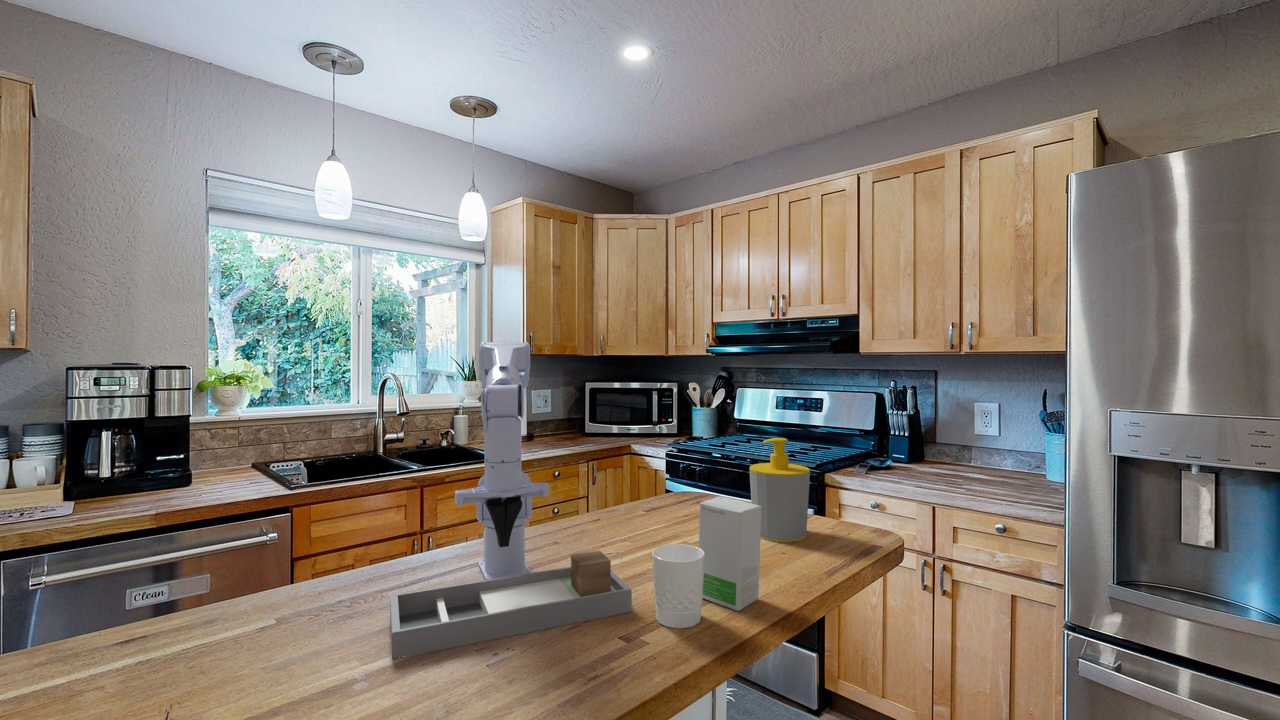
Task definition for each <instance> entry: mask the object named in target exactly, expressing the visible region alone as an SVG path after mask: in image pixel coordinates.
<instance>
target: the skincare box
mask: <svg viewBox="0 0 1280 720" xmlns="http://www.w3.org/2000/svg"><path fill="white" fill-rule="evenodd" d="M698 524H699V528H698V530H699V531H698V533H699V534H698V548H700V549H702V550H703V551H704V553H705V559H704V583H703V598H702V599H705V600H707V601H709V602H712V603H715V604H718V605H720V606H723V607H726V608H728V609H731V610H734V611H737V612H740V611H741V610H743V609H745V608H746V607H748V606H750V605H752V603H755V602H756V601H758V600H759V592H760V591H759V590H760V563H761V562H760V557H761V554H760V553H761V538H760V532H761V506H759V505H755V504H752V503H751V502H747V501H743V500H741V499H733V498H729V497H724V496H717V497H715V498H711V499H708V500H705V501H701V502H700V503H699V523H698Z"/></svg>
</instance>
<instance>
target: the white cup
mask: <svg viewBox="0 0 1280 720" xmlns="http://www.w3.org/2000/svg"><path fill="white" fill-rule="evenodd" d="M651 557H652V559H651V560H652V579H653V580H652V581H653V591H654V593H653V594H654V601H655V619H656V620H657V622H658V623H659V624H661V625H662V626H664V627H666V628H667V627H668V628H673V629H689V628H692V627H695V626H696V625H698V624H699V623H700V622H701V617H702V603H703V599H704V598H703V583H704V559H705V553H704V551H703V550H702V549H700V548H699V546H695V545H690V544H683V543H682V544H681V543H671V544H670V543H669V544H663V545H660V546H657V547H655V548H654V549H653V550H652V552H651Z"/></svg>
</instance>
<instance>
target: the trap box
mask: <svg viewBox="0 0 1280 720" xmlns="http://www.w3.org/2000/svg"><path fill="white" fill-rule="evenodd" d="M632 591H633V590H632V588H631V587H630V586H629V585H627V583H626V582H625V581H624V580H622V578H620V576H619V575H617V574H616V573H614V571H612V570H611V592H605V593H600V594H594V595H589V596H583V597H580V596H579V594H578V593H577V592H576V591H575V590H574V588H573V587H572V586H571V566H567V567H561V568H555V569H548V570H542V571H536V572H531V573H528V574H522V575H515V576H509V577H503V578H496V579H490V580H486V579H484V580H479V581H472V582H467V583H466V582H465V583H459V584H454V585H453V584H452V585H447V586H440V587H434V588H429V589H421V590H414V591H408V592H402V593H397V594H396V593H394V594H390V597H389V598H390V600H389V601H390V602H389V605H390V608H389V611H390V613H389V614H390V616H389V617H390V621H389V622H390V640H391V641H390V642H391V643H390V644H391V660H392V659H393V660H395V659H394V658H398V659H400V658H399V657H403V656H408V657H411V655H413V656H417V655H416V654H418V655H422V654H427V653H432V652H437V651H443V650H447V649H452V648H456V647H462V646H467V645H471V644H472V645H473V644H478V643H482V642H488V641H493V640H498V639H502V638H507V637H513V636H517V635H522V634H527V633H531V632H538V631H543V630H547V629H553V628H557V627H562V626H563V627H564V626H567V625H571V624H577V623H581V622H587V621H593V620H597V619H603V618H607V617H612V616H617V615H623V614H627V613H632V609H633V608H632V607H633V606H632V605H633V604H632V600H633V599H632V597H633V596H632ZM403 658H404V657H403Z"/></svg>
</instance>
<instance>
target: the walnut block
mask: <svg viewBox="0 0 1280 720" xmlns="http://www.w3.org/2000/svg"><path fill="white" fill-rule="evenodd" d="M611 566H612V564H611V559H610V558H608V557H607V556H606V555H605V554H604V553H603V552H602V551H601V550H595V551H590V552H588V551H587V552H582V553H576V554H571V555H570V567H571V586H572V587H573V588H574V590H575V591H576V592H577V593H578V594H579V596H580V597H583V596H589V595H594V594H600V593H605V592H611V571H612V570H611V568H612V567H611Z"/></svg>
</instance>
